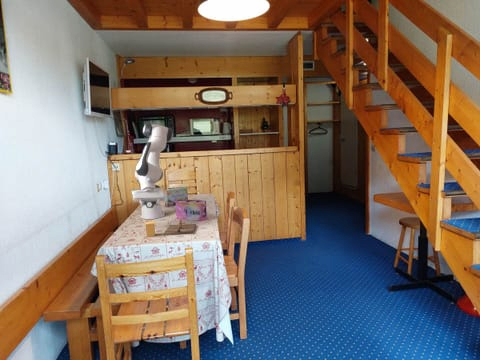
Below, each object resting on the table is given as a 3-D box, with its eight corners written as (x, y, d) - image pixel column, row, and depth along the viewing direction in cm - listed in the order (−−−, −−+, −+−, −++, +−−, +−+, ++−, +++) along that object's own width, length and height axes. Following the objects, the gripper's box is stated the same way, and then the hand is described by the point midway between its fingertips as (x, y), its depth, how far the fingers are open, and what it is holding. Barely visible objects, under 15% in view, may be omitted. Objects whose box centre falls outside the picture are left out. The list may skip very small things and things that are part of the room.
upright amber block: (147, 234, 202) (145, 222, 201) (155, 233, 204) (154, 221, 203) (146, 236, 198) (145, 224, 197) (155, 235, 199) (154, 223, 198)
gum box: (209, 218, 236) (207, 200, 234) (203, 221, 229) (201, 202, 227) (182, 216, 247) (181, 199, 245) (176, 219, 240) (174, 201, 238)
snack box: (168, 207, 284) (166, 190, 282) (165, 206, 288) (163, 189, 286) (188, 203, 298) (187, 187, 296) (185, 202, 302) (184, 186, 300)
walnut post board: (169, 227, 217) (168, 217, 216) (195, 225, 217) (195, 215, 216) (164, 235, 199) (163, 224, 198) (193, 233, 199) (192, 222, 198)
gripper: (131, 186, 210) (133, 202, 201) (163, 186, 218) (166, 201, 209) (131, 192, 214) (132, 208, 205) (162, 192, 222) (165, 207, 213)
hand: (150, 205), depth 207 cm, fingers open, 8 cm apart
